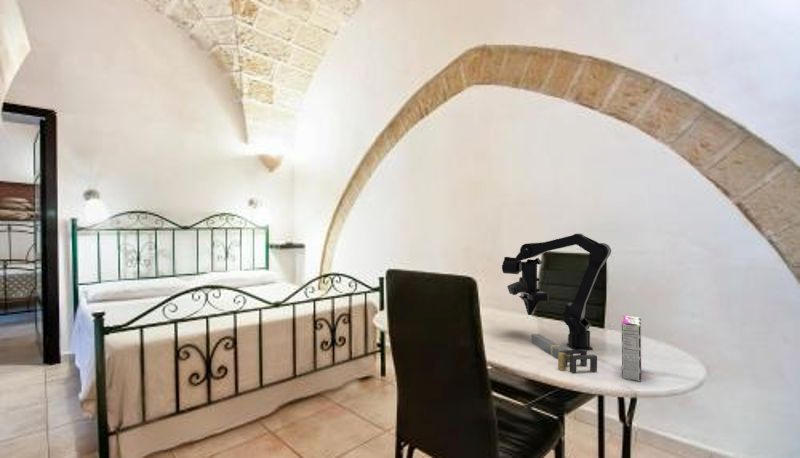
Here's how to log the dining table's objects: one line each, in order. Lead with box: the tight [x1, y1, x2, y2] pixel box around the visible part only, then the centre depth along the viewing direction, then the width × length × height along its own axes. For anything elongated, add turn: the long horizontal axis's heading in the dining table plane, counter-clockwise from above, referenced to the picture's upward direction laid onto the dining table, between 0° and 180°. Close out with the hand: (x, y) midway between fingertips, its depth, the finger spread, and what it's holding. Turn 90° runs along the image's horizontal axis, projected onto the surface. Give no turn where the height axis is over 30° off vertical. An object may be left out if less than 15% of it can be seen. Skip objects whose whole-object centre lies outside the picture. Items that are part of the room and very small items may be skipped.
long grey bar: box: [530, 333, 574, 364], centre depth 138 cm, size 22×3×3 cm, turn 8°
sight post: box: [557, 352, 571, 371], centre depth 121 cm, size 4×2×5 cm, turn 98°
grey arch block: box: [561, 349, 588, 368], centre depth 124 cm, size 8×2×5 cm, turn 98°
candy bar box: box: [621, 315, 642, 382], centre depth 117 cm, size 11×5×16 cm, turn 148°
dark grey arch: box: [569, 353, 598, 374], centre depth 119 cm, size 8×2×5 cm, turn 98°
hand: (529, 314), depth 154 cm, fingers closed
